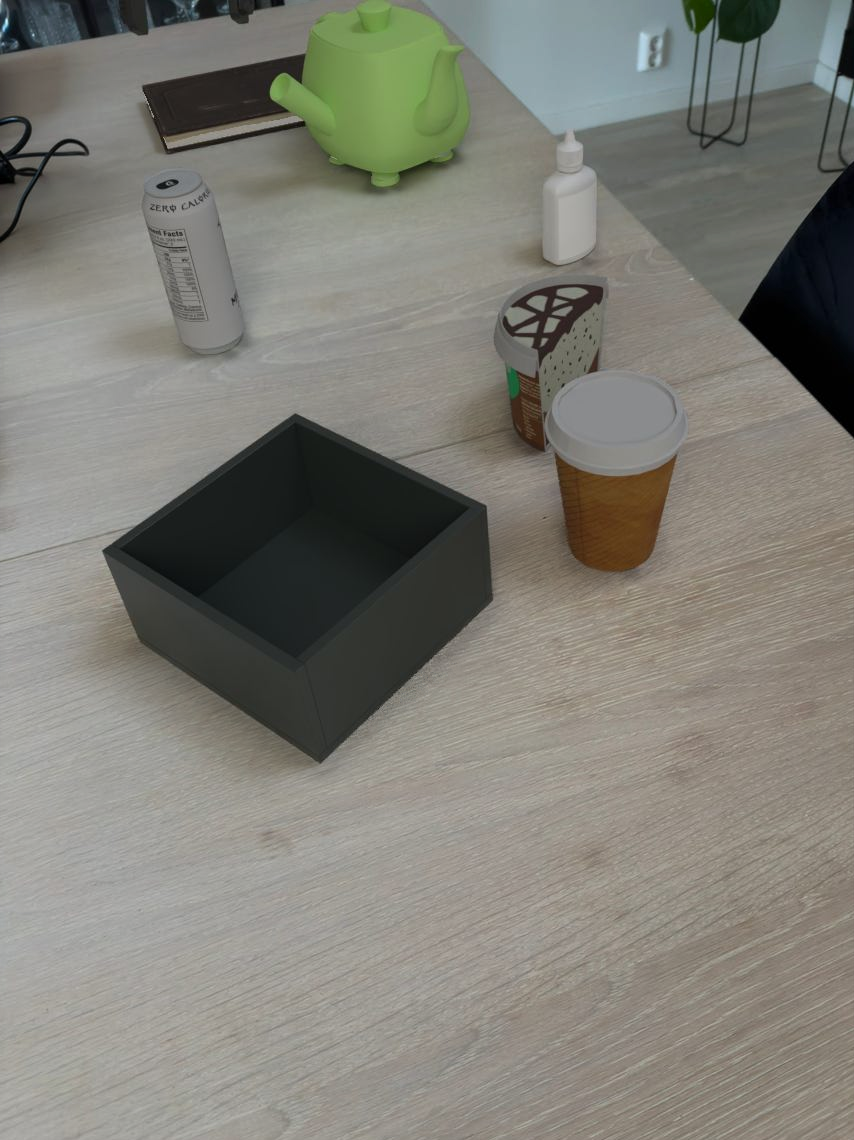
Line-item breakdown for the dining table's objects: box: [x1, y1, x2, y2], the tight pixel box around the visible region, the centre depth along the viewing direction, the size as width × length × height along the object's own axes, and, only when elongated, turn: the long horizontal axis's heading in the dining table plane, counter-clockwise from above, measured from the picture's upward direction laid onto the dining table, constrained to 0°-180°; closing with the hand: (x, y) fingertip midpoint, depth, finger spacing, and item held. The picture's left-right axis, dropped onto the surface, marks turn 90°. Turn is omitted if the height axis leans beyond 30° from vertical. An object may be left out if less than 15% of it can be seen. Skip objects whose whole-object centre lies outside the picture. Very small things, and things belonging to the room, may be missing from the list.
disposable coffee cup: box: [544, 369, 690, 572], centre depth 78 cm, size 10×10×12 cm
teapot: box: [270, 0, 471, 188], centre depth 119 cm, size 25×22×16 cm
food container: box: [493, 273, 610, 453], centre depth 90 cm, size 12×6×10 cm, turn 149°
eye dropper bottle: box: [541, 128, 598, 266], centre depth 106 cm, size 4×6×12 cm
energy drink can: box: [141, 167, 246, 355], centre depth 99 cm, size 6×6×15 cm
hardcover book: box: [141, 52, 306, 155], centre depth 137 cm, size 16×23×2 cm
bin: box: [101, 413, 494, 764], centre depth 76 cm, size 18×18×9 cm
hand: (189, 27), depth 88 cm, fingers open, 8 cm apart
